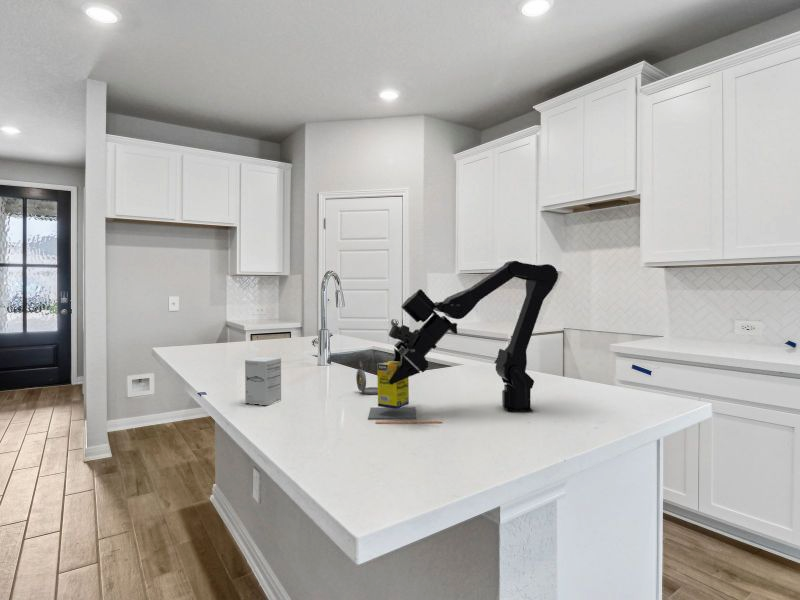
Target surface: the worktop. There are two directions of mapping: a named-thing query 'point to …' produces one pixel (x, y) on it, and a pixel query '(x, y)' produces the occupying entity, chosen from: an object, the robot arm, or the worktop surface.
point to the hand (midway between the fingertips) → (387, 379)
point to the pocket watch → (364, 382)
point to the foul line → (405, 422)
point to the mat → (392, 413)
